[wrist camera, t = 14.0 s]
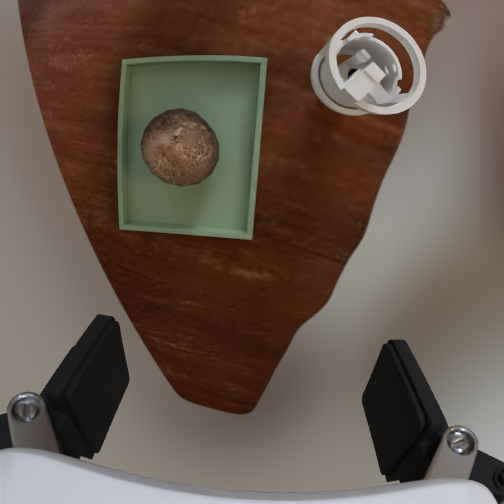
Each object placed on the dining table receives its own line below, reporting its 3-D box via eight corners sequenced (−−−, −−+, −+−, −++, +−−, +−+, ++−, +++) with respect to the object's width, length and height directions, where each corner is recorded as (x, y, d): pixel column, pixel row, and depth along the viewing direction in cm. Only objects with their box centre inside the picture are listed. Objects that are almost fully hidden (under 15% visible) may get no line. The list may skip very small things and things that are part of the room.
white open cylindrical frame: (289, 83, 30) (308, 55, 16) (332, 42, 28) (378, -6, 14) (337, 129, 32) (389, 136, 18) (379, 87, 30) (451, 72, 16)
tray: (129, 62, 29) (122, 59, 27) (267, 61, 29) (267, 57, 27) (126, 223, 37) (119, 229, 35) (252, 233, 37) (252, 240, 35)
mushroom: (136, 195, 31) (144, 179, 26) (136, 124, 31) (144, 97, 26) (209, 192, 35) (231, 178, 29) (205, 126, 35) (225, 102, 29)
